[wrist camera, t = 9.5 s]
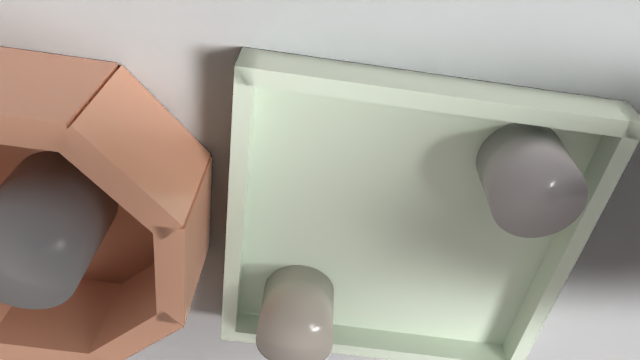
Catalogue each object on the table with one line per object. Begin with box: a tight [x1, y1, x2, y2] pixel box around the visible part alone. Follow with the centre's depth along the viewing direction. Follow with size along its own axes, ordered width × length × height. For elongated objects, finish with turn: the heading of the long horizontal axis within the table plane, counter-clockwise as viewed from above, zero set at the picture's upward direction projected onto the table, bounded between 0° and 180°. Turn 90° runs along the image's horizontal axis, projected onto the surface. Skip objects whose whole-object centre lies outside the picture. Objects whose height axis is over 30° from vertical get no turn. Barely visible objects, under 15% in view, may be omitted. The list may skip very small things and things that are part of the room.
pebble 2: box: [476, 123, 588, 238], centre depth 19 cm, size 3×3×3 cm
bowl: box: [0, 46, 212, 360], centre depth 21 cm, size 11×11×4 cm
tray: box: [221, 47, 640, 360], centre depth 22 cm, size 13×13×2 cm
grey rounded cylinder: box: [0, 151, 118, 309], centre depth 20 cm, size 4×4×4 cm
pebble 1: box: [256, 265, 334, 360], centre depth 23 cm, size 3×3×3 cm
